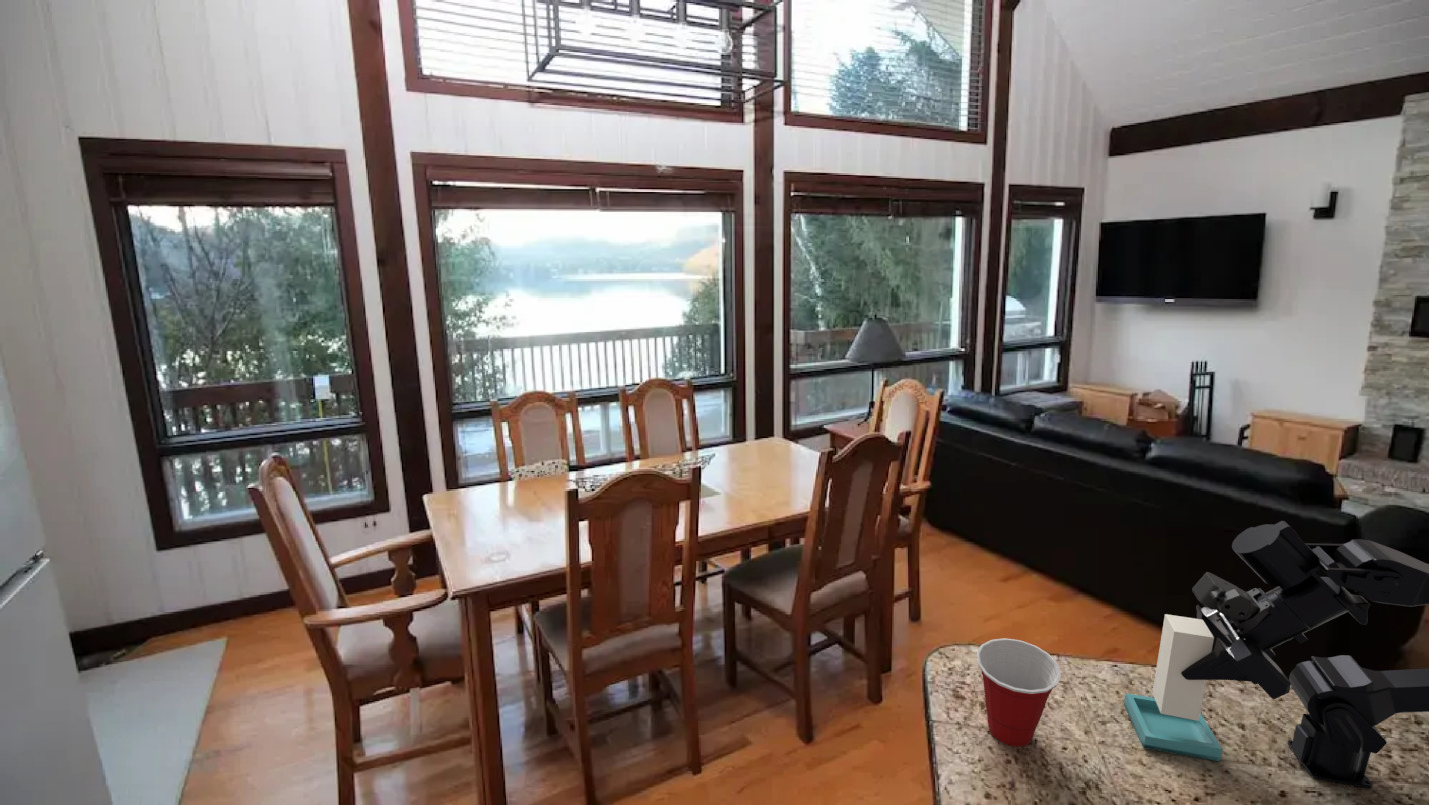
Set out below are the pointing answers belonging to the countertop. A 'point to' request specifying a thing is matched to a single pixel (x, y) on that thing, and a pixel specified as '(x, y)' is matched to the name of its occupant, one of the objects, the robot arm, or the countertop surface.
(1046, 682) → the plastic cup
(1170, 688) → the cream block
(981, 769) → the countertop surface
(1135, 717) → the teal dish
